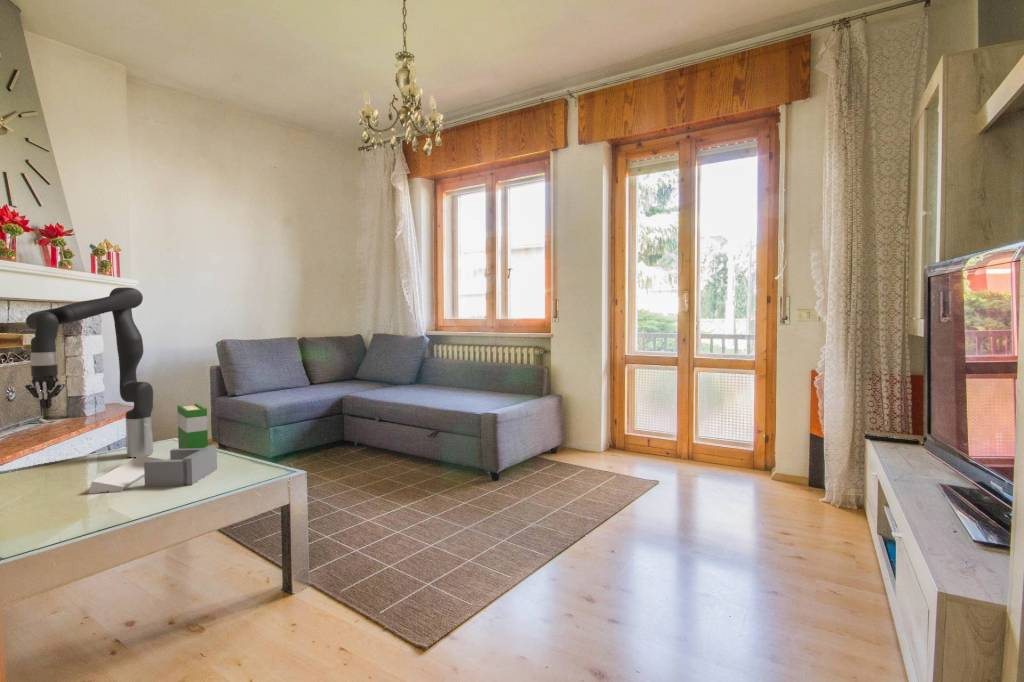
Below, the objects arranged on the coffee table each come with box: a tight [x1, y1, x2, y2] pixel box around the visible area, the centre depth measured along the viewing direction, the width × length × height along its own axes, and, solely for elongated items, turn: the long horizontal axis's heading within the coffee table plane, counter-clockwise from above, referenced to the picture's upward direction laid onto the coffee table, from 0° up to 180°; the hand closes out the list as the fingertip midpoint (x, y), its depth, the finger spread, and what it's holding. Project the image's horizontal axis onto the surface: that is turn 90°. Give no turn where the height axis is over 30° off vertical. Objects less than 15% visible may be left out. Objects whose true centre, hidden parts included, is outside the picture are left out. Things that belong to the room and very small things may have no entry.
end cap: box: [144, 444, 218, 487], centre depth 195 cm, size 19×16×10 cm
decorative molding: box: [88, 455, 163, 494], centre depth 195 cm, size 34×5×10 cm
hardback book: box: [176, 403, 209, 449], centre depth 215 cm, size 18×7×24 cm, turn 43°
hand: (46, 408), depth 194 cm, fingers closed
